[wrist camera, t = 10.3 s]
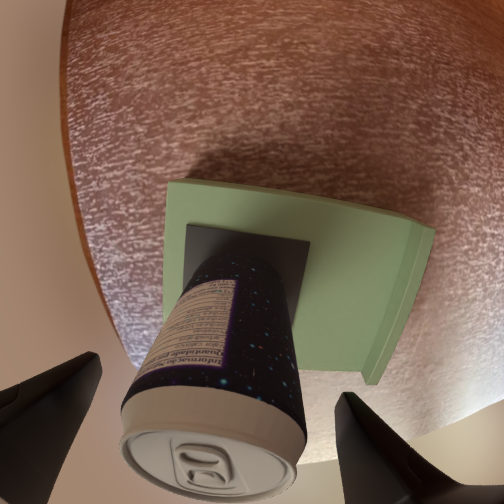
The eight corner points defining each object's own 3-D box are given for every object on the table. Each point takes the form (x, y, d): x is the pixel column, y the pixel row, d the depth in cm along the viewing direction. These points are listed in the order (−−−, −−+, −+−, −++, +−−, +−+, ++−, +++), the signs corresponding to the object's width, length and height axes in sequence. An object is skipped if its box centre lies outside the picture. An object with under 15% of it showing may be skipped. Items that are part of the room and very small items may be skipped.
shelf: (175, 325, 22) (157, 364, 17) (183, 177, 19) (158, 183, 14) (359, 347, 22) (377, 385, 18) (400, 213, 19) (436, 228, 14)
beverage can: (196, 328, 18) (141, 492, 7) (187, 246, 16) (73, 396, 5) (283, 329, 18) (299, 506, 6) (285, 245, 16) (329, 420, 5)
